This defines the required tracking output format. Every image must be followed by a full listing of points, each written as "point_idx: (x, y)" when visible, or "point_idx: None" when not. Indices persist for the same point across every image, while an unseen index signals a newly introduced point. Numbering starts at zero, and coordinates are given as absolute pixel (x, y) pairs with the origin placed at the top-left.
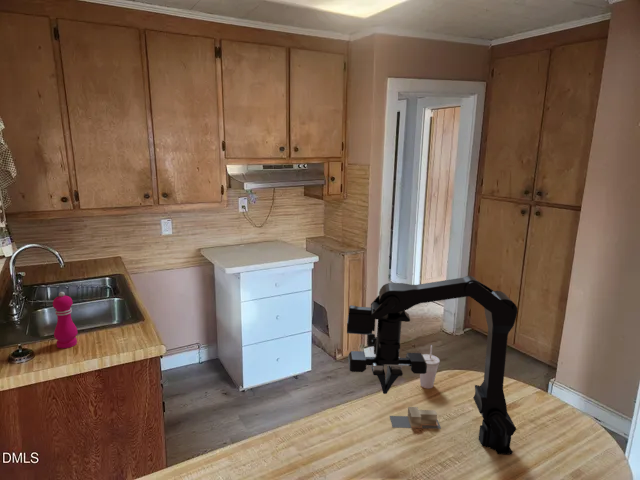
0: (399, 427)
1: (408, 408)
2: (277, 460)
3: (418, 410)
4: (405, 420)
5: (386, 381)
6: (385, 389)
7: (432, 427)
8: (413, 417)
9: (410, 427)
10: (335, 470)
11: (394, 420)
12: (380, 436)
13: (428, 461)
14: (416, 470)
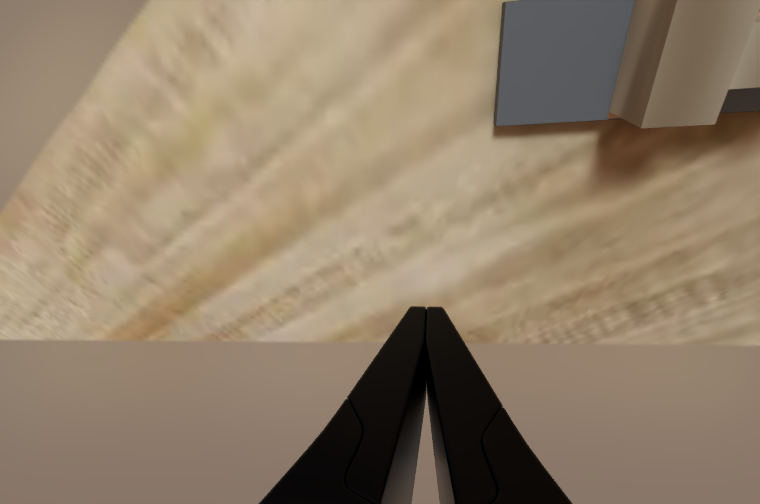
0: (536, 123)
1: (672, 1)
2: (103, 301)
3: (746, 36)
4: (601, 44)
5: (437, 444)
6: (425, 399)
7: (754, 102)
8: (652, 125)
9: (604, 118)
10: (272, 330)
11: (525, 56)
12: (423, 175)
13: (590, 298)
14: (525, 331)
